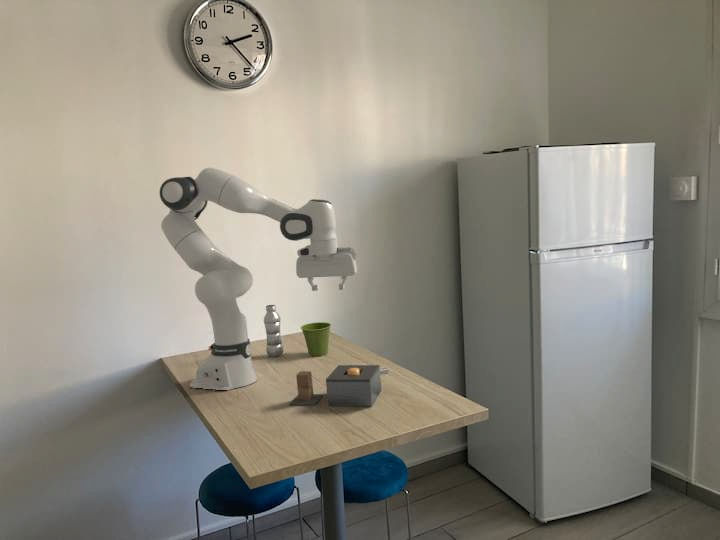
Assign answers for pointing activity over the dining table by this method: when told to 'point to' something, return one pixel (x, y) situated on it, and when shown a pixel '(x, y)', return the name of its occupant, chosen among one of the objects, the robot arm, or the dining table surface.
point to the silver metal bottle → (273, 332)
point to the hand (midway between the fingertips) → (328, 289)
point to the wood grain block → (304, 386)
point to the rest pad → (307, 403)
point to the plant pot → (317, 337)
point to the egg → (353, 371)
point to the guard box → (353, 386)
